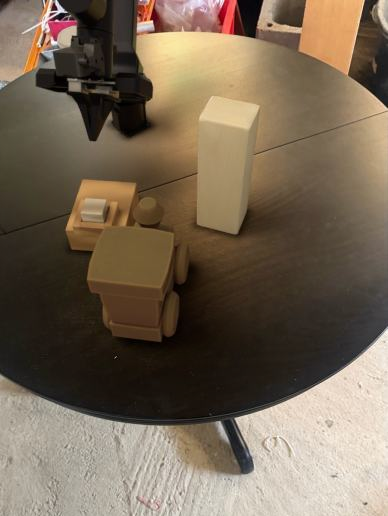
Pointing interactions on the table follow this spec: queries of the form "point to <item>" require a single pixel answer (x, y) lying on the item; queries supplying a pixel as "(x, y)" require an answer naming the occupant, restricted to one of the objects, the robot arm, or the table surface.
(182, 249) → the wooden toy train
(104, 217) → the white rounded block
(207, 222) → the tall cream block
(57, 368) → the table surface
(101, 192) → the box with white insert
